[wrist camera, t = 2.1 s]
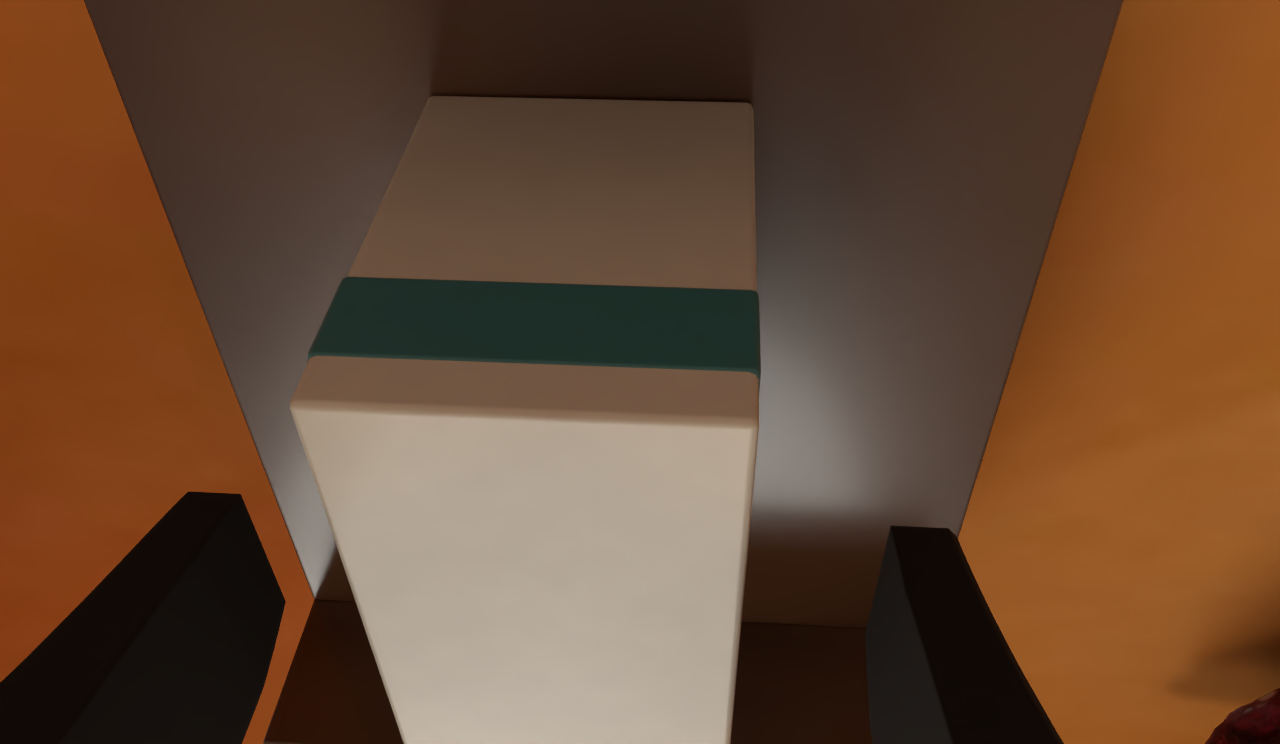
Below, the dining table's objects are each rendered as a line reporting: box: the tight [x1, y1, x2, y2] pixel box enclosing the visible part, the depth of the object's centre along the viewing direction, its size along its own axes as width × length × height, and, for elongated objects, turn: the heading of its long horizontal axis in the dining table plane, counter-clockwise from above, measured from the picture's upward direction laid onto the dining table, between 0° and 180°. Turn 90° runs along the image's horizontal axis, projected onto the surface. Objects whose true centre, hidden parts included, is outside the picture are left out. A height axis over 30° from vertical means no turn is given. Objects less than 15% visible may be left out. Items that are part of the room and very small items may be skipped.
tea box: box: [290, 96, 761, 744], centre depth 13 cm, size 4×7×6 cm, turn 1°
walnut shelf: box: [84, 0, 1123, 744], centre depth 15 cm, size 12×18×6 cm, turn 1°
